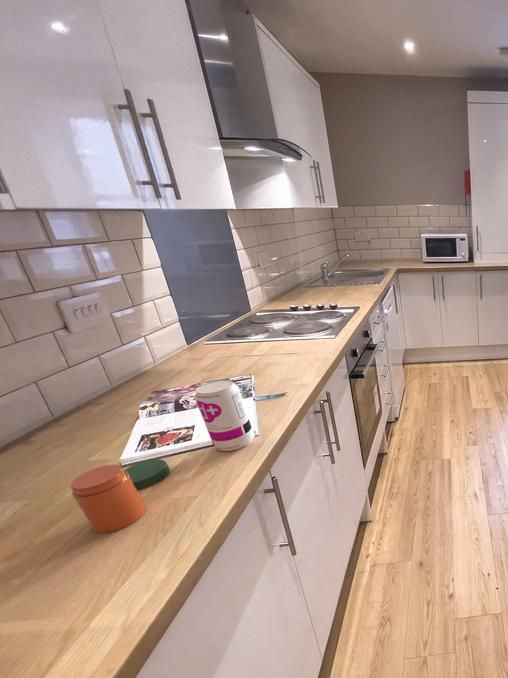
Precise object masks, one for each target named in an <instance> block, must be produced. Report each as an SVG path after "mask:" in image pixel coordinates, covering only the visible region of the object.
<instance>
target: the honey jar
mask: <svg viewBox="0 0 508 678" xmlns="http://www.w3.org/2000/svg"><path fill="white" fill-rule="evenodd" d="M124 470H125V469H123V467H122V466H121V465H120V464H106V465H101V466H98V467H95V468H92V469H90V470H87V471H85V472H83V473H81V474H79V475H78V476H76V477H75V478H74V479H73V480H72V481H71V482H70V488H71V491H72V492H71V496H72V497H73V499H74V500H75V502H76V503H77V505H78V507H79V508H80V510H81V512H82V514H83V515H84V517H85V518H86V521H87V522H88V523H89V526H90V527H91V528H92V530H93V531H94V532H95V533H97V534H98V533H99V534H108V533H112V532H117V531H119V530H122V529H125V528H126V527H129V526H131V525H132V524H134V523H135V522H137V521H138V520H140V519H141V518H142V517H143V516H144V514H145V513H146V511H147V506H146V504H145V503H144V500H143V499H142V496H141V495H140V493H139V491H138V490H137V489H136V487H135V485H134V483H133V481H132V479H131V477H130V475H129V474H128V472H126V471H124Z"/></svg>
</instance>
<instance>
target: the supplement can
mask: <svg viewBox="0 0 508 678" xmlns="http://www.w3.org/2000/svg"><path fill="white" fill-rule="evenodd" d="M194 400H195V402H196V404H197V407H198V410H199V412H200V416H201V418H202V420H203V422H204V425H205V428H206V430H207V433H208V436H209V437H210V441H211V442H212V445H213V448H214V449H216V450H218V451H222V452H232V451H237V450H239V449H240V450H241V449H242V448H244V447H246V446H248V445H249V444H250V443H252V441H253V439H254V438H255V432H254V428H253V426H252V423H251V420H250V417H249V414H248V411H247V409H246V406H245V403H244V400H243V396H242V392H241V391H240V388H239V386H238V385H237V384H235V383H234V381H233V380H232V379H218V380H212V381H209V382H206V383H203V384H202V385H199V386H198V387H197V388H196V389H195V396H194Z"/></svg>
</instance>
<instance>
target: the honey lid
mask: <svg viewBox="0 0 508 678" xmlns="http://www.w3.org/2000/svg"><path fill="white" fill-rule="evenodd" d="M123 470H124V471H126V472H128V474H129V475H130V477H131V479H132V481H133V483H134V485H135V487H136V489H137V491H138V490H142V489H145V488H148V487H151V486H153V485H155V484H157V483H159V482H161V481H163V479H165V478H166V477H167V476H168V475H169V473H170V470H171V469H170V467H169V464H168V463H167V461H165V460H164V459H160V458H159V459H158V458H156V459H148V460H144V461H140V462H138V463H135V464H133V465H130V466H129V467H127V468H125V469H123Z"/></svg>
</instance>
